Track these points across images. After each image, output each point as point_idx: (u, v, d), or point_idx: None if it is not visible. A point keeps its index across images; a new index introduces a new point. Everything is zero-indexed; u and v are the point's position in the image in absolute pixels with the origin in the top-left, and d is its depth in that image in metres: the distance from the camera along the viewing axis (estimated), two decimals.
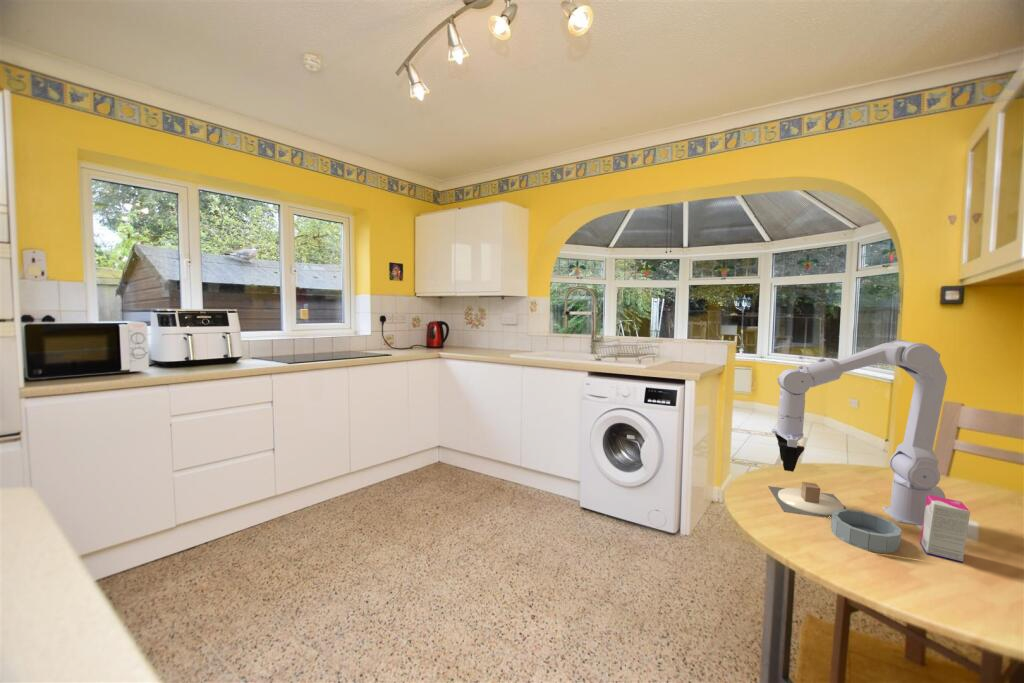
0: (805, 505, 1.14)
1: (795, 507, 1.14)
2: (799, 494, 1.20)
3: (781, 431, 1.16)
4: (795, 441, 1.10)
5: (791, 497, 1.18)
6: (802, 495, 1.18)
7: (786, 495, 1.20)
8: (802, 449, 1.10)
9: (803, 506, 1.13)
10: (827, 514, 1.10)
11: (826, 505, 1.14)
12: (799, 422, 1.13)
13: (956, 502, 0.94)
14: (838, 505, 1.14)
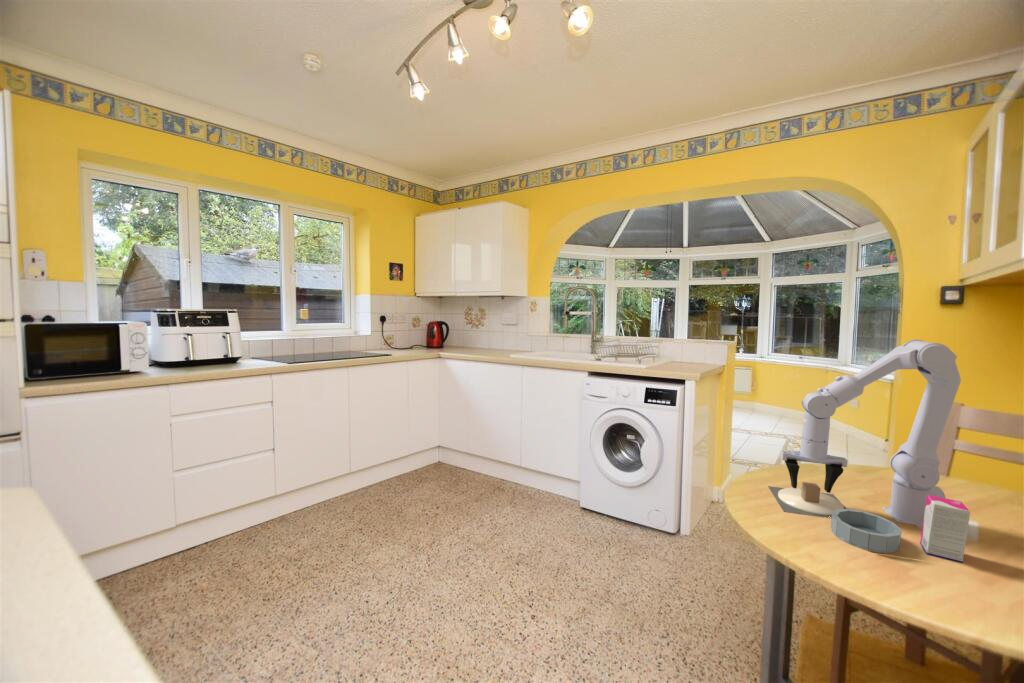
0: (805, 505, 1.14)
1: (795, 507, 1.14)
2: (799, 494, 1.20)
3: None
4: (782, 454, 1.18)
5: (791, 497, 1.18)
6: (802, 495, 1.18)
7: (786, 495, 1.20)
8: (789, 464, 1.16)
9: (803, 506, 1.13)
10: (827, 514, 1.10)
11: (826, 505, 1.14)
12: (806, 444, 1.15)
13: (956, 502, 0.94)
14: (838, 505, 1.14)
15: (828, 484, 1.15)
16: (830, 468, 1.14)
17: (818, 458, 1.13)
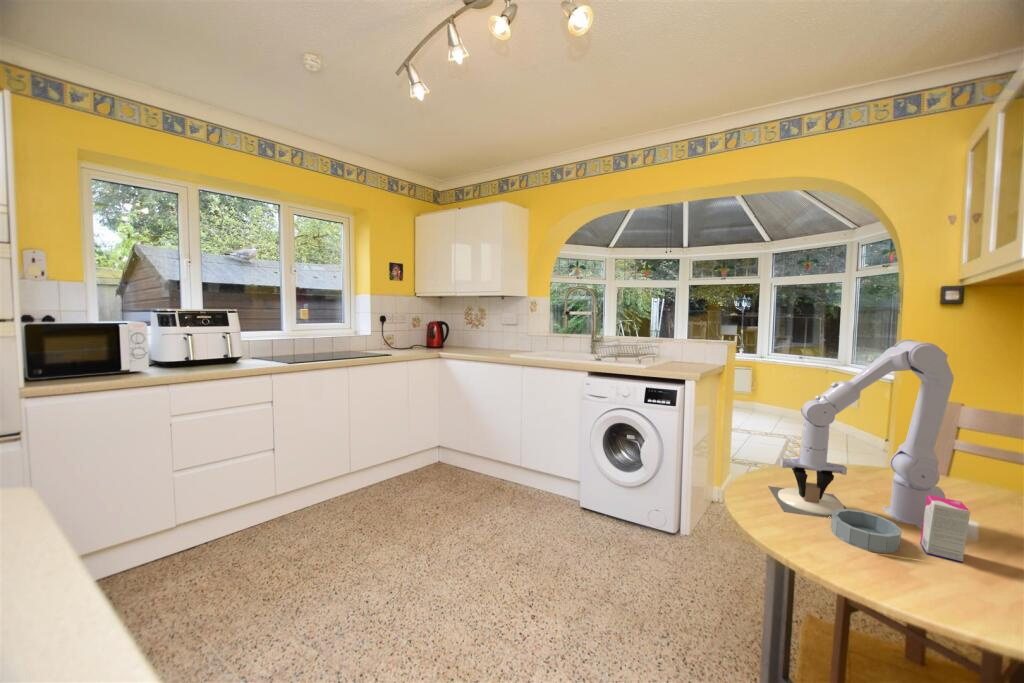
0: (805, 505, 1.14)
1: (795, 507, 1.14)
2: (799, 494, 1.20)
3: None
4: (782, 461, 1.18)
5: (791, 497, 1.18)
6: None
7: (786, 495, 1.20)
8: (797, 473, 1.16)
9: (803, 506, 1.13)
10: (827, 514, 1.10)
11: (826, 505, 1.14)
12: (806, 451, 1.15)
13: (956, 502, 0.94)
14: (838, 505, 1.14)
15: None
16: (821, 475, 1.15)
17: (817, 466, 1.13)
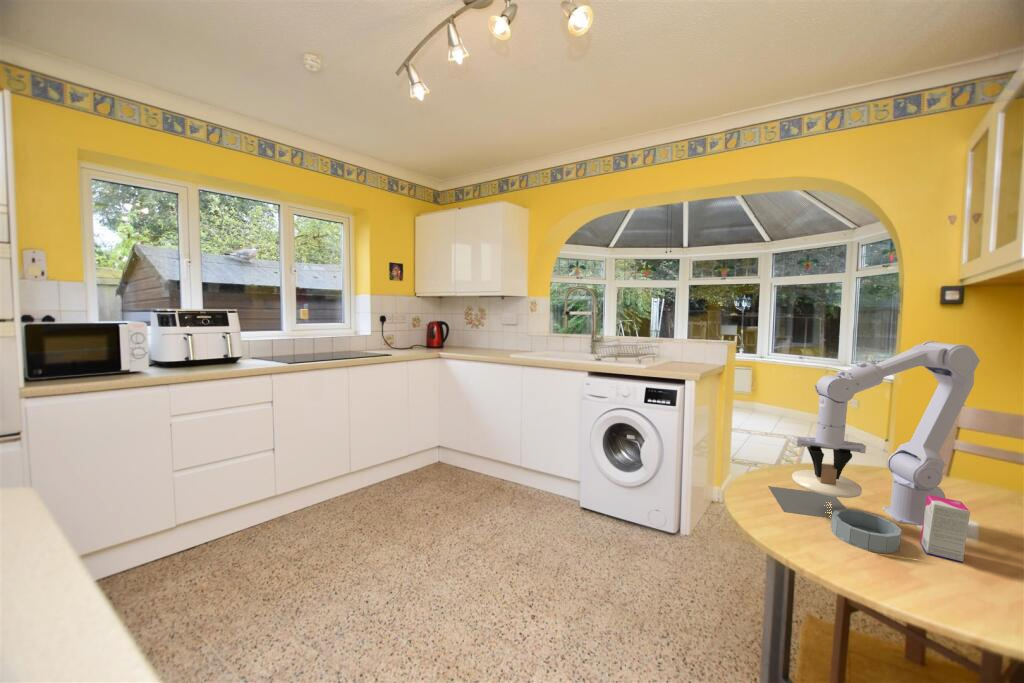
0: (821, 486, 1.09)
1: (810, 489, 1.08)
2: (814, 476, 1.15)
3: None
4: (796, 440, 1.12)
5: (806, 479, 1.13)
6: (818, 477, 1.13)
7: (801, 477, 1.14)
8: (813, 452, 1.10)
9: (819, 488, 1.08)
10: (845, 496, 1.05)
11: (843, 487, 1.09)
12: (822, 429, 1.09)
13: (956, 502, 0.94)
14: (856, 486, 1.09)
15: None
16: (838, 453, 1.10)
17: (835, 444, 1.08)
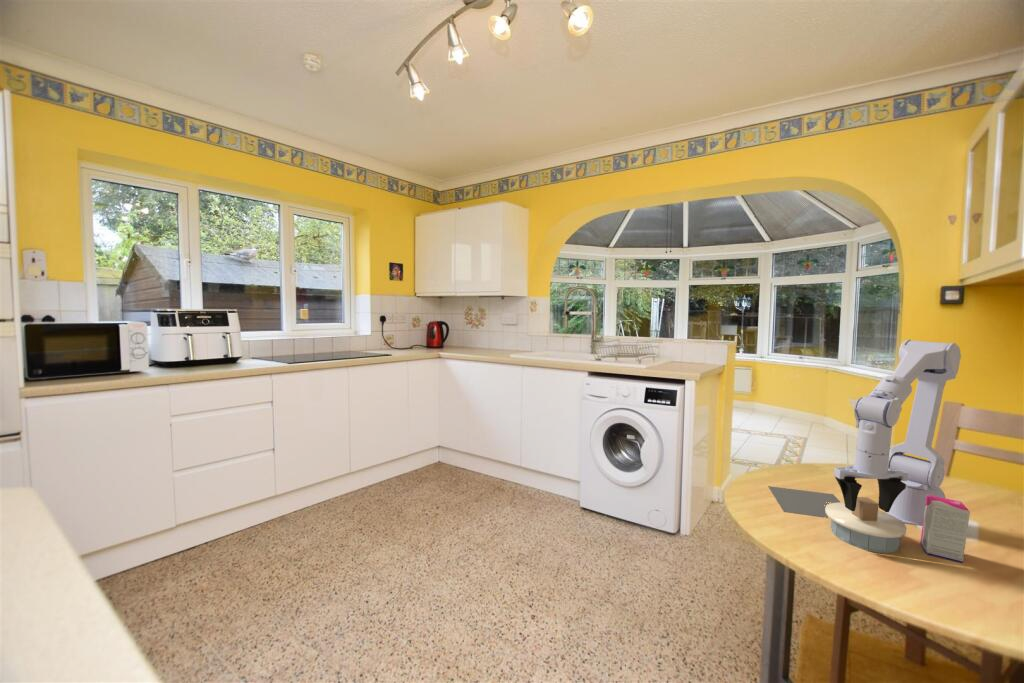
0: (867, 526, 0.97)
1: (859, 530, 0.95)
2: (848, 511, 1.03)
3: (855, 464, 1.01)
4: (838, 471, 0.99)
5: (845, 516, 1.01)
6: (855, 513, 1.01)
7: (838, 515, 1.01)
8: (850, 484, 0.97)
9: (867, 528, 0.96)
10: (897, 535, 0.94)
11: (886, 523, 0.98)
12: (867, 458, 0.97)
13: (956, 502, 0.94)
14: (896, 520, 0.99)
15: (887, 502, 0.98)
16: (889, 484, 0.98)
17: (882, 474, 0.96)
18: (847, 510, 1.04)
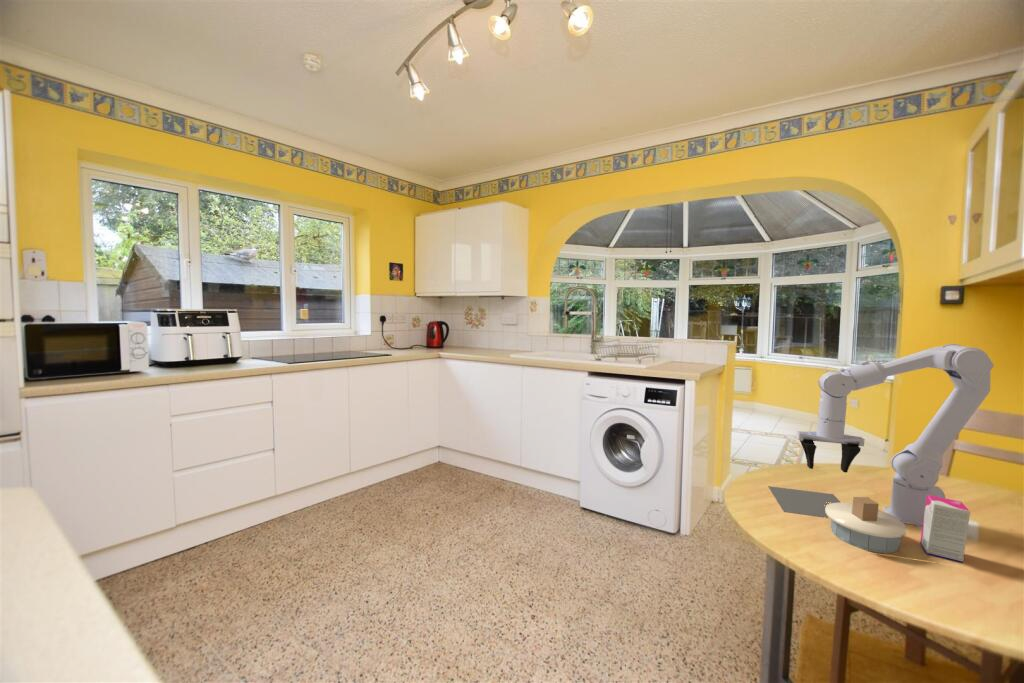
0: (867, 526, 0.97)
1: (859, 530, 0.95)
2: (848, 511, 1.03)
3: None
4: (798, 434, 1.17)
5: (845, 516, 1.01)
6: (855, 513, 1.01)
7: (838, 515, 1.01)
8: (806, 445, 1.15)
9: (867, 528, 0.96)
10: (897, 535, 0.94)
11: (886, 523, 0.98)
12: (823, 423, 1.14)
13: (956, 502, 0.94)
14: (896, 520, 0.99)
15: (845, 464, 1.14)
16: (847, 447, 1.14)
17: (835, 437, 1.12)
18: (847, 510, 1.04)
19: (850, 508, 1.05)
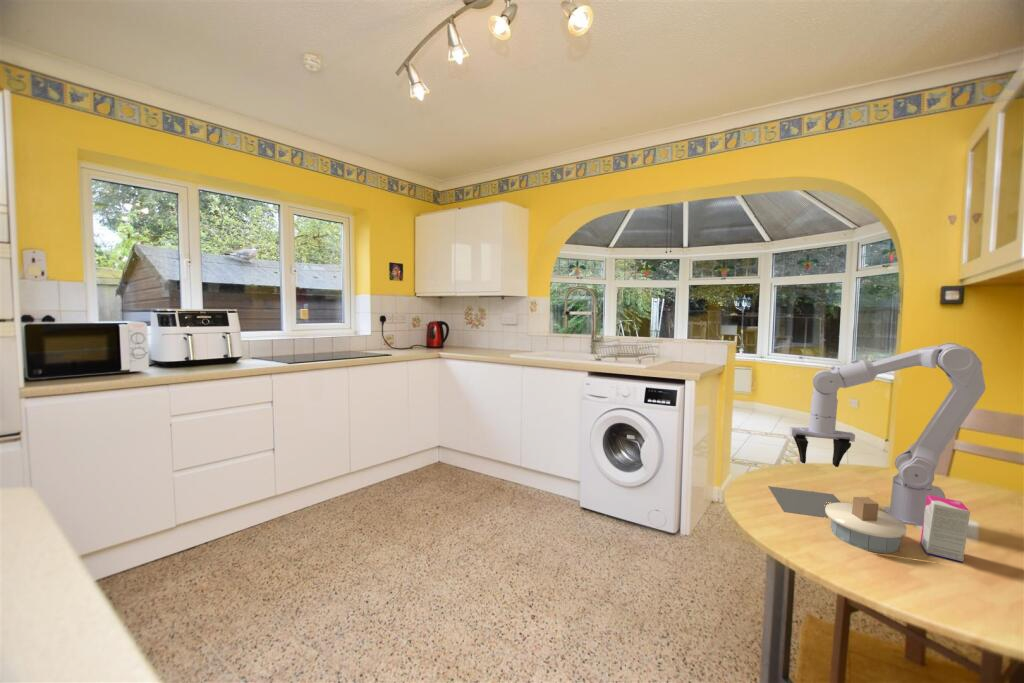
0: (867, 526, 0.97)
1: (859, 530, 0.95)
2: (848, 511, 1.03)
3: None
4: (791, 430, 1.21)
5: (845, 516, 1.01)
6: (855, 513, 1.01)
7: (838, 515, 1.01)
8: (798, 440, 1.19)
9: (867, 528, 0.96)
10: (897, 535, 0.94)
11: (886, 523, 0.98)
12: (815, 419, 1.18)
13: (956, 502, 0.94)
14: (896, 520, 0.99)
15: (836, 458, 1.18)
16: (838, 443, 1.18)
17: (826, 433, 1.17)
18: (847, 510, 1.04)
19: (850, 508, 1.05)
